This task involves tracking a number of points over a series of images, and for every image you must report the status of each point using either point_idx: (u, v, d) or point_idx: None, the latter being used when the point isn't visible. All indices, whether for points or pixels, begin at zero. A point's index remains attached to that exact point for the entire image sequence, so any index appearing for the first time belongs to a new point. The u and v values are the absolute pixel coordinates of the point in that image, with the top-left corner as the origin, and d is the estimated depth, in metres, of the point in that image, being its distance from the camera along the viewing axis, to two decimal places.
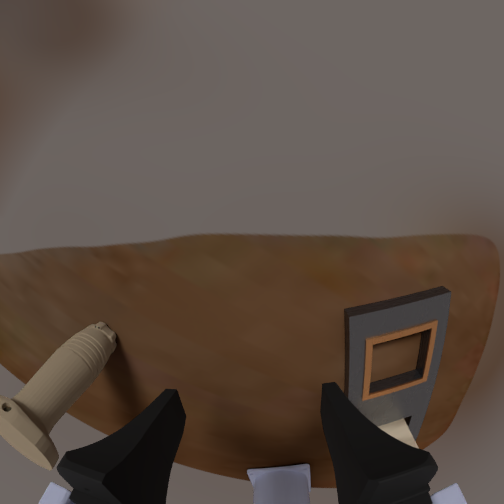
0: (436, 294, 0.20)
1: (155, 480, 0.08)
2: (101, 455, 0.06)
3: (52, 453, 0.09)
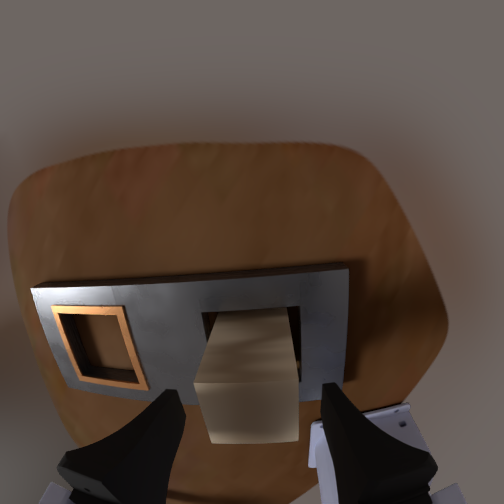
0: (37, 304, 0.18)
1: (155, 480, 0.08)
2: (101, 455, 0.06)
3: None
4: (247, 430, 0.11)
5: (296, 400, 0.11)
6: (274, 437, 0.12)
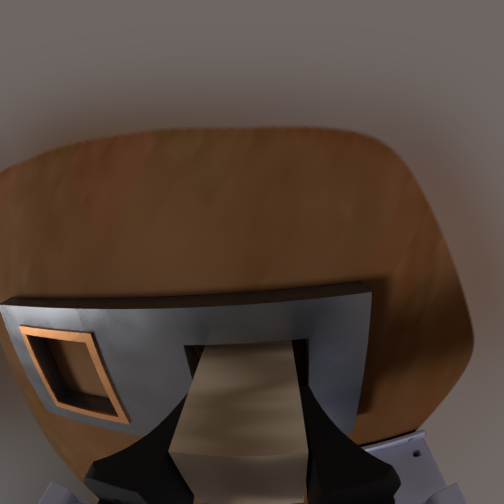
0: (7, 322, 0.14)
1: (184, 485, 0.08)
2: (132, 463, 0.06)
3: None
4: (240, 495, 0.08)
5: (303, 471, 0.07)
6: (274, 500, 0.08)
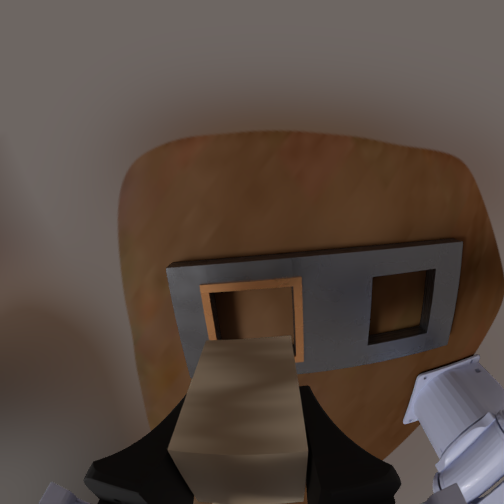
0: (170, 286, 0.20)
1: (184, 485, 0.08)
2: (132, 463, 0.06)
3: None
4: (240, 494, 0.08)
5: (303, 470, 0.07)
6: (274, 499, 0.08)
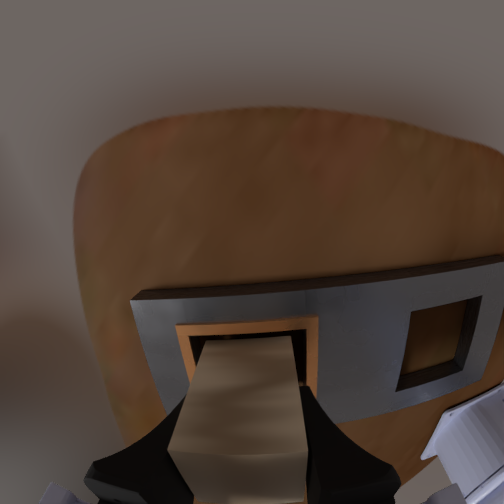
0: (138, 323, 0.14)
1: (184, 485, 0.08)
2: (132, 463, 0.06)
3: None
4: (239, 494, 0.08)
5: (303, 470, 0.07)
6: (274, 499, 0.08)
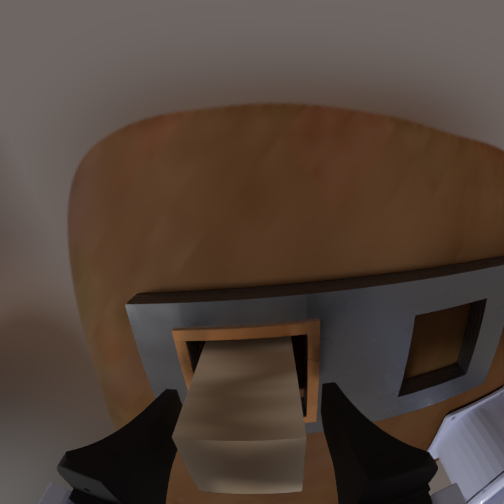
0: (134, 328, 0.14)
1: (155, 480, 0.08)
2: (101, 455, 0.06)
3: None
4: (240, 483, 0.08)
5: (302, 457, 0.08)
6: (273, 488, 0.08)
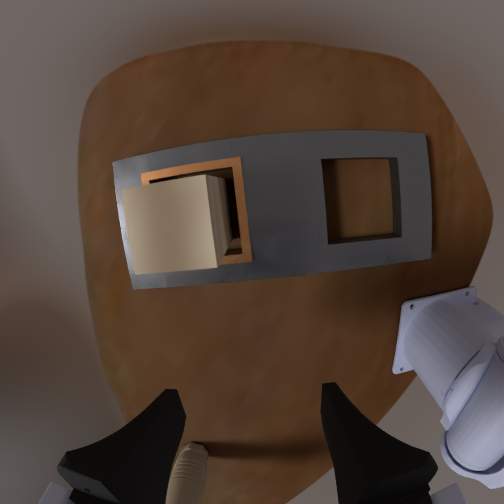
0: (116, 181, 0.19)
1: (155, 480, 0.08)
2: (101, 455, 0.06)
3: None
4: (165, 248, 0.13)
5: (206, 202, 0.13)
6: (191, 259, 0.13)
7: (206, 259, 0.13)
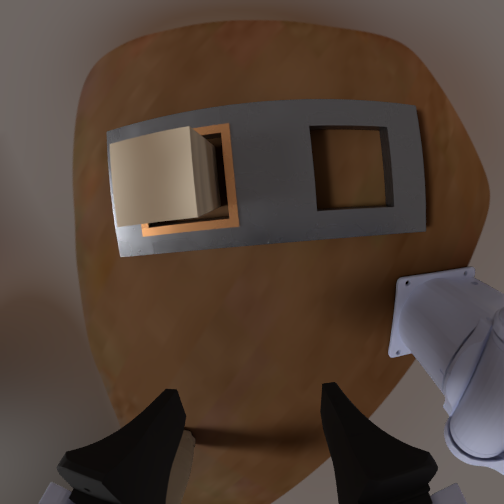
0: (109, 150, 0.18)
1: (155, 480, 0.08)
2: (101, 455, 0.06)
3: None
4: (147, 199, 0.13)
5: (189, 152, 0.12)
6: (173, 209, 0.13)
7: (187, 208, 0.13)
